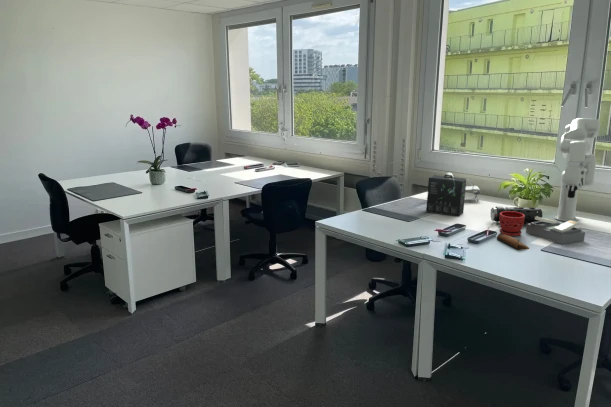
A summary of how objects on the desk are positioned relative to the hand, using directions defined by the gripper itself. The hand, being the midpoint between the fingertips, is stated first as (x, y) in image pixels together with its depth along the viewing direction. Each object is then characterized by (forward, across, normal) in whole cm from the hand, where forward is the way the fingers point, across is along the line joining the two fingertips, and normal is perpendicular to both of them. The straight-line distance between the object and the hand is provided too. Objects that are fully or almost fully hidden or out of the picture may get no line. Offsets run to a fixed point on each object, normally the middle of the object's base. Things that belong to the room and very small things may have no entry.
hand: (570, 197), depth 247 cm
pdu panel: (+23, +5, +4) cm, 24 cm away
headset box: (+23, +69, +29) cm, 78 cm away
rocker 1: (+15, +10, +5) cm, 19 cm away
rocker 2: (+15, -3, +4) cm, 16 cm away
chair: (+22, +96, -6) cm, 99 cm away
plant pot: (+23, +16, +24) cm, 37 cm away
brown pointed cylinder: (+24, +2, +36) cm, 43 cm away
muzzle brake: (+23, +33, +4) cm, 40 cm away
